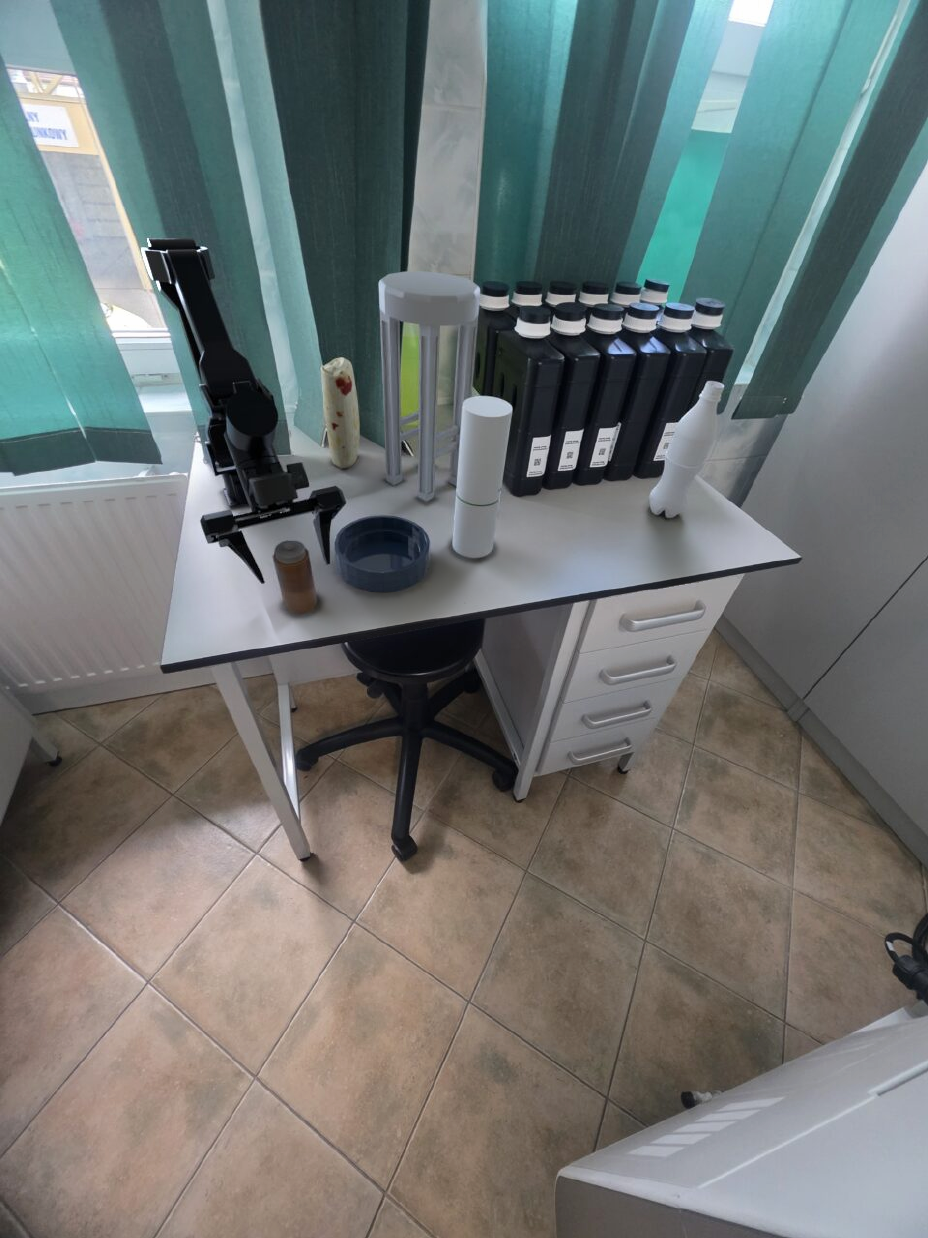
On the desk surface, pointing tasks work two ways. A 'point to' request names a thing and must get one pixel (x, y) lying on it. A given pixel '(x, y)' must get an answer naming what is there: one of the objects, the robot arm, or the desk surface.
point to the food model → (341, 411)
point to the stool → (425, 365)
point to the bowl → (382, 553)
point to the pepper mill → (295, 576)
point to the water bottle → (687, 452)
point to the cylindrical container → (480, 473)
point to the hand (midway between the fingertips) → (296, 573)
